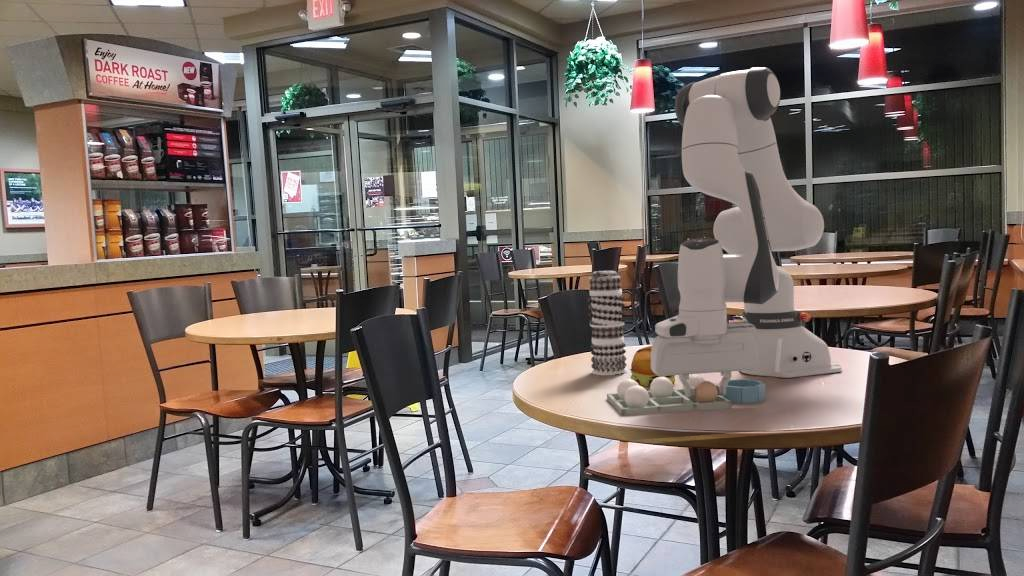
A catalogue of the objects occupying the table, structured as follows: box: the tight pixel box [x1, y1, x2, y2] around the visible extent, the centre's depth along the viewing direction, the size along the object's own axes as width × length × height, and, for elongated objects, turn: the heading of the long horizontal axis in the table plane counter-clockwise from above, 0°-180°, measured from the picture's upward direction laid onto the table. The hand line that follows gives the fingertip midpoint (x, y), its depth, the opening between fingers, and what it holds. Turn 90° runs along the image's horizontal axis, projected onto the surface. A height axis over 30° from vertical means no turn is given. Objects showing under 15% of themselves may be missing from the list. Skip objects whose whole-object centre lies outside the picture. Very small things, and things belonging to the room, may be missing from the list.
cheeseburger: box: [629, 345, 676, 388], centre depth 168 cm, size 10×11×10 cm
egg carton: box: [606, 374, 733, 416], centre depth 148 cm, size 21×14×5 cm
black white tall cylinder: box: [586, 270, 628, 376], centre depth 187 cm, size 9×9×25 cm
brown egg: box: [694, 380, 718, 403], centre depth 145 cm, size 5×5×5 cm
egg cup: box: [718, 378, 766, 404], centre depth 150 cm, size 8×8×4 cm
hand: (705, 395), depth 146 cm, fingers closed on brown egg, 5 cm apart
